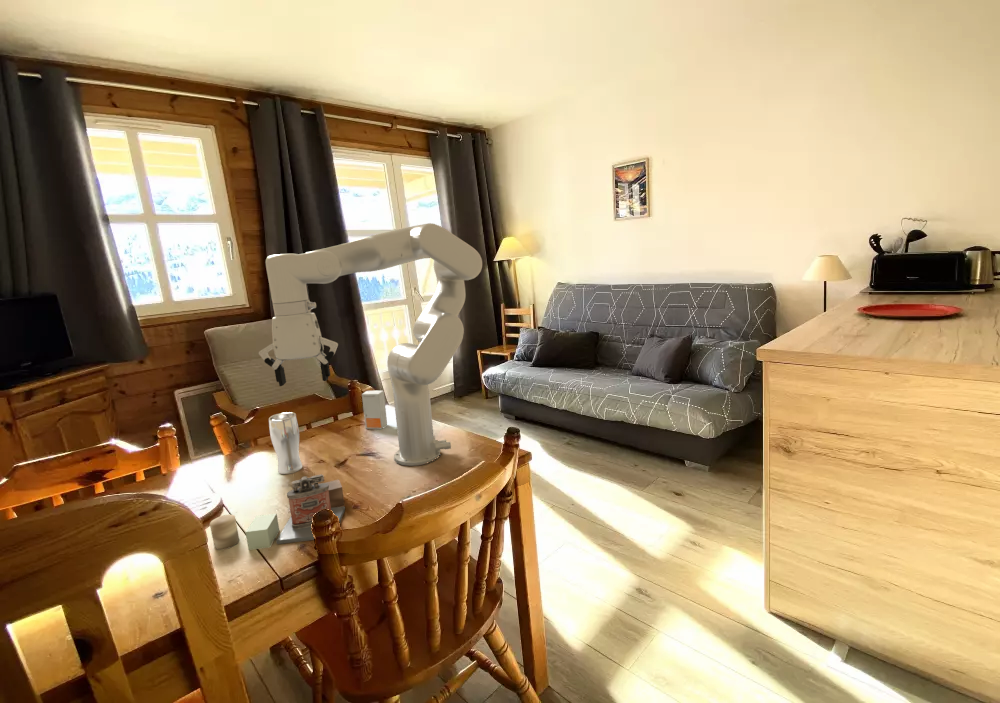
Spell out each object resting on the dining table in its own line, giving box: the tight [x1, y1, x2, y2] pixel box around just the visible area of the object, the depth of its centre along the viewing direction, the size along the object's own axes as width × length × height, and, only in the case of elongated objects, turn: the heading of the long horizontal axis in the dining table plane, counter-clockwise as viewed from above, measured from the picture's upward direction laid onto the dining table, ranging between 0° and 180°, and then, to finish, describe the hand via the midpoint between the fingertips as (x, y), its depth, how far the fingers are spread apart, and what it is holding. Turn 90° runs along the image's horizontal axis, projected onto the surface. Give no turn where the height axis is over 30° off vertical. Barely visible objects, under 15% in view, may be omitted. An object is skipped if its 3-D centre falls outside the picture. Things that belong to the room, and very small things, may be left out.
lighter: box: [286, 473, 331, 529], centre depth 101 cm, size 8×3×10 cm, turn 114°
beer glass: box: [268, 411, 303, 475], centre depth 129 cm, size 7×7×15 cm
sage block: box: [244, 513, 280, 551], centre depth 97 cm, size 4×6×4 cm
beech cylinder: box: [209, 514, 240, 551], centre depth 97 cm, size 4×4×5 cm
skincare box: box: [361, 389, 388, 430], centre depth 158 cm, size 6×4×12 cm
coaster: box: [275, 505, 346, 545], centre depth 102 cm, size 11×11×1 cm
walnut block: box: [325, 479, 345, 508], centre depth 110 cm, size 4×4×4 cm
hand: (304, 382), depth 113 cm, fingers open, 9 cm apart
